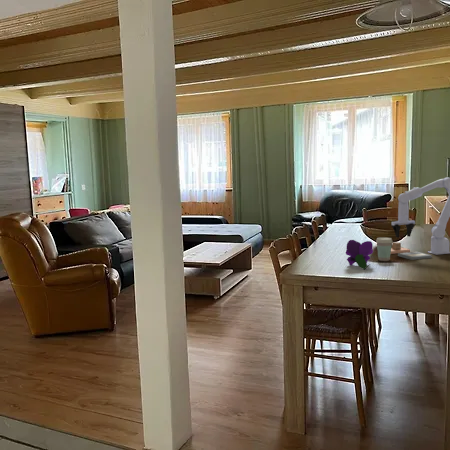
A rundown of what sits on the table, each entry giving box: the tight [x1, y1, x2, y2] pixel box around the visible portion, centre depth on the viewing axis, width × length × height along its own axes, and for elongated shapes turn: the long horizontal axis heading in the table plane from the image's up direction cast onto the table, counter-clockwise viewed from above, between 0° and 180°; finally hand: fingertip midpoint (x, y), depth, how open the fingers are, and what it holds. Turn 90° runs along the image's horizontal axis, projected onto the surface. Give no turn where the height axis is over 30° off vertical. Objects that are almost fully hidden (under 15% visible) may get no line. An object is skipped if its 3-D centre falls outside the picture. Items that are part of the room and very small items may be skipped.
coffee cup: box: [375, 236, 393, 262], centre depth 255 cm, size 8×9×12 cm
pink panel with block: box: [390, 241, 411, 255], centre depth 276 cm, size 13×8×6 cm, turn 105°
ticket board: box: [397, 251, 433, 261], centre depth 261 cm, size 13×12×2 cm
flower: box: [345, 239, 374, 270], centre depth 239 cm, size 15×15×14 cm
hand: (403, 236), depth 274 cm, fingers open, 7 cm apart
